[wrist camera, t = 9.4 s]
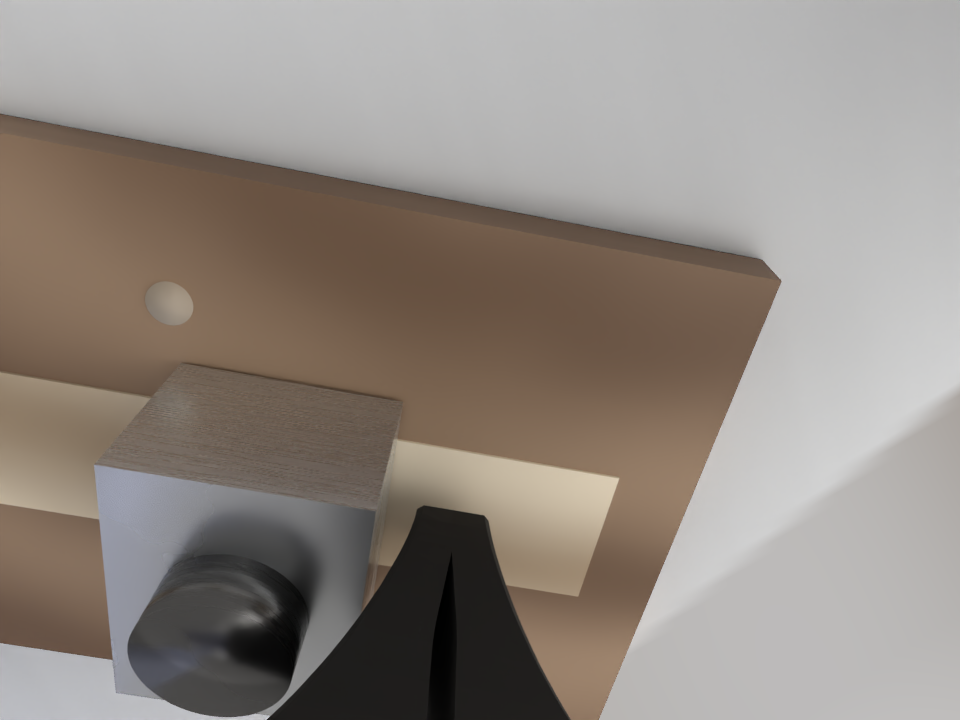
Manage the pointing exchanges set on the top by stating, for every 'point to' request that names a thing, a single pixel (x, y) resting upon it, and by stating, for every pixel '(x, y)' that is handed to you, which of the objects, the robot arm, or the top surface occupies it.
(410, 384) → the counting board
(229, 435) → the knob
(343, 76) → the top surface
